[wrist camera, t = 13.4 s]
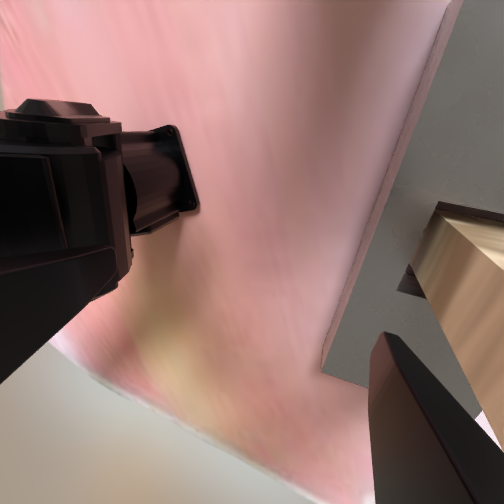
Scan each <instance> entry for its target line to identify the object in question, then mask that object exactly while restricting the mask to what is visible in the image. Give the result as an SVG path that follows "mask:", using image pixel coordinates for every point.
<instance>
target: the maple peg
mask: <svg viewBox="0 0 504 504" xmlns="http://www.w3.org/2000/svg"><path fill="white" fill-rule="evenodd" d="M409 264H410V266H411V268H412V270H413V272H414V274H415V276H416V278H417V280H418V282H419V284H420V286H421V288H422V290H423V292H424V294H425V296H426V298H427V300H428V302H429V304H430V306H431V308H432V310H433V312H434V314H435V316H436V318H437V320H438V322H439V324H440V326H441V328H442V330H443V332H444V334H445V336H446V338H447V340H448V342H449V344H450V346H451V348H452V350H453V352H454V354H455V356H456V358H457V360H458V362H459V364H460V366H461V368H462V370H463V372H464V374H465V376H466V378H467V380H468V382H469V384H470V386H471V388H472V390H473V392H474V394H475V396H476V398H477V400H478V402H479V404H480V406H481V408H482V410H483V412H484V414H485V416H486V418H487V420H488V422H489V424H490V426H491V428H492V430H493V432H494V434H495V436H496V438H497V440H498V442H499V444H500V446H501V448H502V450H503V452H504V223H503V222H499V221H494V220H489V219H484V218H479V217H474V216H469V215H463V214H458V213H453V212H448V211H443V210H438V209H435V210H434V212H433V214H432V216H431V218H430V220H429V222H428V224H427V226H426V228H425V231H424V233H423V235H422V237H421V239H420V241H419V243H418V245H417V247H416V249H415V252H414V254H413V256H412V258H411V260H410V262H409Z"/></svg>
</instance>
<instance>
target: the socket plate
mask: <svg viewBox="0 0 504 504" xmlns="http://www.w3.org/2000/svg"><path fill="white" fill-rule="evenodd" d="M438 201H442V202H447V203H451V204H456V205H461V206H466V207H471V208H476V209H481V210H486V211H491V212H496V213H501V214H504V0H452V1H451V2H450V3H449V4H448V7H447V9H446V12H445V15H444V17H443V20H442V23H441V26H440V28H439V31H438V34H437V37H436V39H435V42H434V45H433V47H432V50H431V53H430V56H429V58H428V61H427V64H426V67H425V69H424V72H423V75H422V78H421V80H420V83H419V86H418V88H417V91H416V94H415V97H414V99H413V102H412V105H411V108H410V110H409V113H408V116H407V118H406V121H405V124H404V127H403V129H402V132H401V135H400V138H399V140H398V143H397V146H396V148H395V151H394V154H393V157H392V159H391V162H390V165H389V168H388V170H387V173H386V176H385V179H384V181H383V184H382V187H381V189H380V192H379V195H378V198H377V200H376V203H375V206H374V209H373V211H372V214H371V217H370V219H369V222H368V225H367V228H366V230H365V233H364V236H363V239H362V241H361V244H360V247H359V249H358V252H357V255H356V258H355V260H354V263H353V266H352V269H351V271H350V274H349V277H348V280H347V282H346V285H345V288H344V290H343V293H342V296H341V299H340V301H339V304H338V307H337V310H336V312H335V315H334V318H333V320H332V323H331V326H330V329H329V331H328V334H327V337H326V340H325V342H324V345H323V353H322V365H321V372H323V373H326V374H328V375H331V376H334V377H337V378H340V379H343V380H346V381H349V382H351V383H354V384H357V385H360V386H363V387H366V388H369V367H370V355H371V352H372V349H373V347H374V345H375V343H376V341H377V339H378V337H379V335H380V334H381V333H382V332H383V331H386V332H389V333H392V334H396V335H398V336H399V337H400V338H401V339H402V340H403V341H404V342H405V343H406V344H407V346H408V347H409V348H410V349H411V350H412V351H413V352H414V353H415V354H416V356H417V357H418V358H419V359H420V360H421V361H422V362H423V363H424V364H425V366H426V367H427V368H428V369H429V370H430V371H431V372H432V373H433V374H434V376H435V377H436V378H437V379H438V380H439V381H440V382H441V383H442V384H443V386H444V387H445V388H446V389H447V390H448V391H449V392H450V393H451V394H452V396H453V397H454V398H455V399H456V400H457V401H458V402H459V403H460V404H461V406H462V407H463V408H464V409H465V410H466V411H467V412H468V413H469V414H470V416H471V417H472V418H473V419H475V418H476V417H477V416H478V415H479V414H480V412H481V411H482V408H481V406H480V404H479V402H478V400H477V398H476V396H475V394H474V392H473V390H472V388H471V386H470V384H469V382H468V380H467V378H466V376H465V374H464V372H463V370H462V368H461V366H460V364H459V362H458V360H457V358H456V356H455V354H454V352H453V350H452V348H451V346H450V344H449V342H448V340H447V338H446V336H445V334H444V332H443V330H442V328H441V326H440V324H439V322H438V320H437V318H436V316H435V314H434V312H433V310H432V308H431V306H430V304H429V302H428V300H427V298H426V296H425V294H424V292H423V290H422V288H421V286H420V284H419V282H418V280H417V278H416V277H415V276H411V275H408V274H404V273H405V271H406V268H407V266H408V264H409V262H410V260H411V258H412V256H413V254H414V252H415V249H416V247H417V245H418V243H419V241H420V239H421V237H422V235H423V233H424V231H425V228H426V226H427V224H428V222H429V220H430V218H431V216H432V214H433V212H434V210H435V207H436V205H437V203H438Z"/></svg>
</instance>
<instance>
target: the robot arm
mask: <svg viewBox="0 0 504 504" xmlns="http://www.w3.org/2000/svg"><path fill="white" fill-rule="evenodd" d="M170 129H172V131H173V134H172V135H171V134H170ZM191 201H193V202H194V206H193V205H192V203H191ZM198 207H199V199H198V196H197V193H196V189H195V186H194V182H193V179H192V175H191V172H190V169H189V165H188V162H187V158H186V155H185V152H184V148H183V145H182V141H181V138H180V134H179V131H178V129H177V127H176V126H174V125H166V126H163V127H160V128H156V129H153V130H150V131H136V132H122V126H121V122H116V121H110V118H109V117H103V116H101V115H99V114H98V113H97V111H96V110H95V109H94V107H93V106H92V105H91V104H87V103H78V102H69V101H59V100H45V99H26V100H25V101H24V102H23V103H22V104H21V105H20V106H19V107H18V108H17V109H8V110H4V111H0V384H1V383H2V382H3V381H4V380H6V379H7V378H8V377H9V376H10V375H11V374H12V373H13V372H14V371H16V370H17V369H18V368H19V367H20V366H21V365H22V364H23V363H24V362H25V361H26V360H28V359H29V358H30V357H31V356H32V355H33V354H34V353H35V352H36V351H37V350H39V349H40V348H41V347H42V346H43V345H44V344H45V343H46V342H47V341H48V340H50V339H51V338H52V337H53V336H54V335H55V334H56V333H57V332H58V331H59V330H61V329H62V328H63V327H64V326H65V325H66V324H67V323H68V322H69V321H70V320H71V319H73V318H74V317H75V316H76V315H77V314H78V313H79V312H80V311H81V310H82V309H83V308H84V307H85V306H86V305H87V304H88V303H89V302H91V301H93V300H95V299H97V298H100V297H101V296H104V295H106V294H108V293H110V292H111V291H113V290H115V289H116V288H117V287H118V281H120V280H121V279H122V278H123V277H124V276H125V275H126V274H127V273H128V272H129V270H130V268H131V265H132V258H133V257H134V252H133V249H132V247H131V236H139V235H146V234H151V233H153V232H154V231H156V230H158V229H160V228H162V227H164V226H166V225H167V224H169V223H171V222H173V221H175V220H177V219H178V218H179V213H178V212H184V211H190V210H194V209H196V208H198ZM368 417H369V430H370V442H371V454H372V466H373V478H374V490H375V502H376V504H504V452H503V451H502V450H501V449H500V448H499V447H498V446H497V444H496V443H495V442H494V441H493V440H492V439H491V438H490V437H489V436H488V434H487V433H486V432H485V431H484V430H483V429H482V428H481V427H480V426H479V424H478V423H477V422H476V421H475V420H474V419H473V418H472V417H471V416H470V414H469V413H468V412H467V411H466V410H465V409H464V408H463V407H462V406H461V404H460V403H459V402H458V401H457V400H456V399H455V398H454V397H453V396H452V394H451V393H450V392H449V391H448V390H447V389H446V388H445V387H444V386H443V384H442V383H441V382H440V381H439V380H438V379H437V378H436V377H435V376H434V374H433V373H432V372H431V371H430V370H429V369H428V368H427V367H426V366H425V364H424V363H423V362H422V361H421V360H420V359H419V358H418V357H417V356H416V354H415V353H414V352H413V351H412V350H411V349H410V348H409V347H408V346H407V344H406V343H405V342H404V341H403V340H402V339H401V338H400V337H399V336H398V335H396V334H392V333H389V332H386V331H383V332H382V333H381V334H380V335H379V337H378V339H377V341H376V343H375V345H374V347H373V349H372V352H371V355H370V367H369V395H368Z"/></svg>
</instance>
